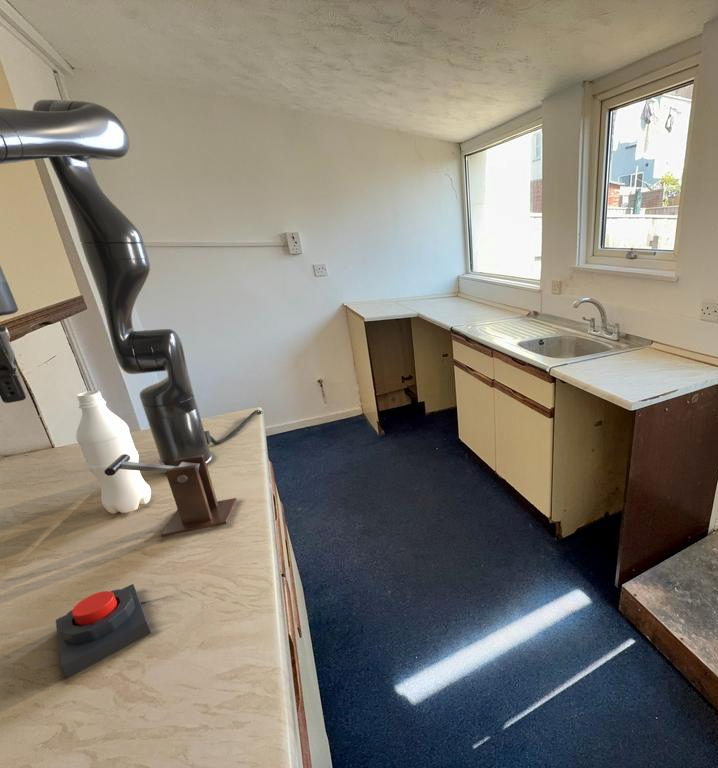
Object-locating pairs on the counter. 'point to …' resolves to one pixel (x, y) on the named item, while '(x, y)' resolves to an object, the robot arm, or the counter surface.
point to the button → (94, 608)
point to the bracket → (195, 498)
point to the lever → (140, 466)
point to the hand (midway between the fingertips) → (15, 400)
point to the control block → (101, 633)
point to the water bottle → (110, 454)
